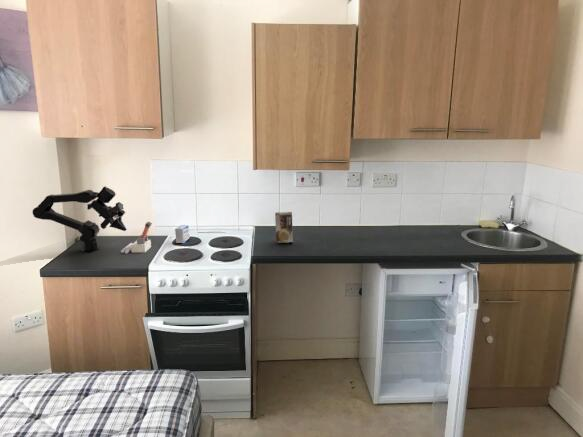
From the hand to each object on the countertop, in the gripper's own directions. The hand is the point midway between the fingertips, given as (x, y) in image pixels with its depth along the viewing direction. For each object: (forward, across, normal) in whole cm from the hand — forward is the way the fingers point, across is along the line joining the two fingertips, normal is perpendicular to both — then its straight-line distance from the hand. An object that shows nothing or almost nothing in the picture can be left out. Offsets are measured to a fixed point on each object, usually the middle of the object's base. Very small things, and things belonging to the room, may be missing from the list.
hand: (125, 230), depth 232 cm
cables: (+8, 0, +7) cm, 11 cm away
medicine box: (+26, +13, -10) cm, 31 cm away
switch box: (+12, 0, +2) cm, 13 cm away
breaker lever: (+9, 0, -2) cm, 10 cm away
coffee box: (+64, +12, -50) cm, 83 cm away
